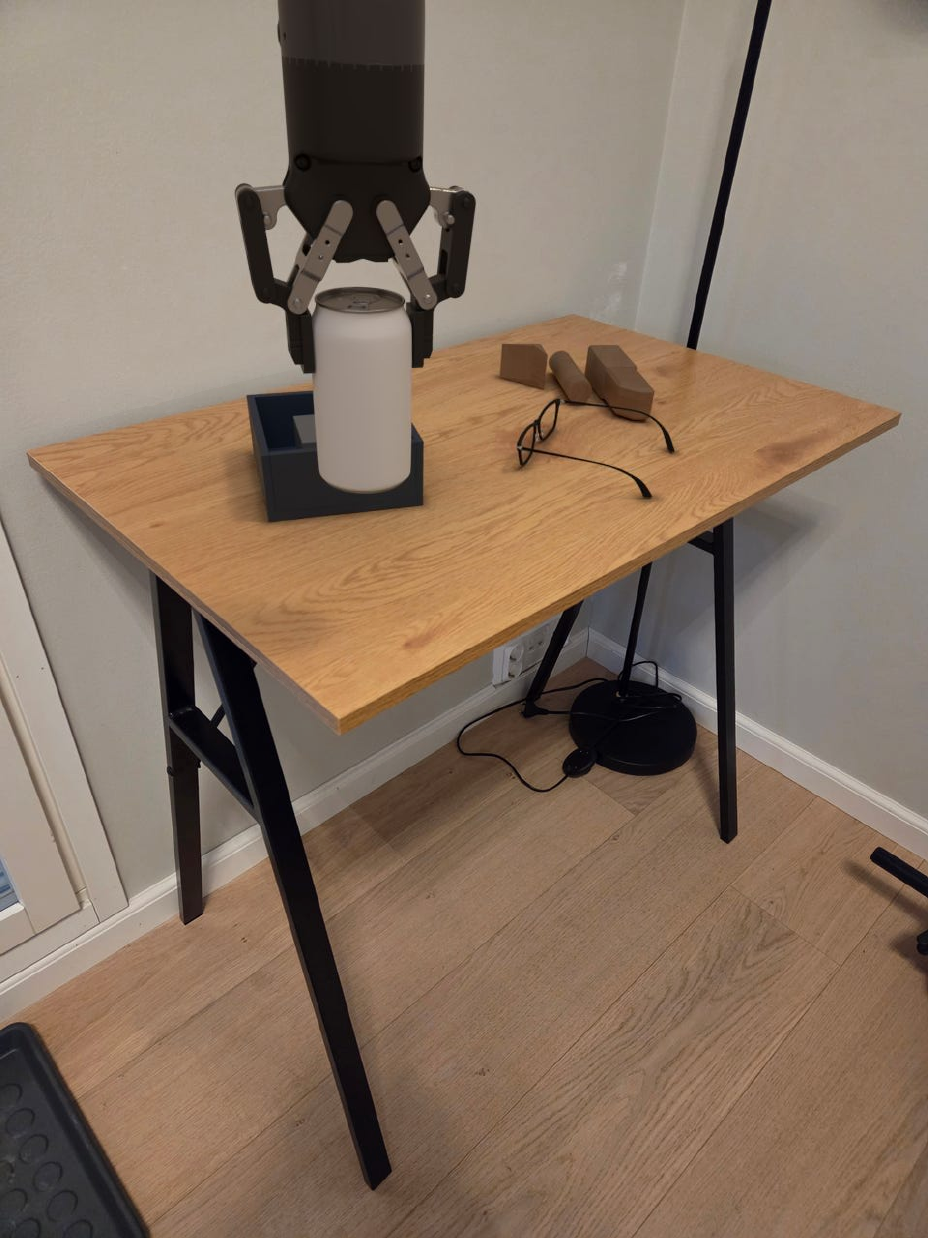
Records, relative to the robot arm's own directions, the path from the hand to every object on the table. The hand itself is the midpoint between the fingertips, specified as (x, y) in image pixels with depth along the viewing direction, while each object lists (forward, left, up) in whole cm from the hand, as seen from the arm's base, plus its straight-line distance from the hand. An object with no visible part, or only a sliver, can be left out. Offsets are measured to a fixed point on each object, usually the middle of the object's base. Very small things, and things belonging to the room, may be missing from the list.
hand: (362, 366), depth 51 cm
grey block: (+2, +27, -20) cm, 34 cm away
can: (0, 0, -8) cm, 8 cm away
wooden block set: (+37, +44, -22) cm, 61 cm away
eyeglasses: (+32, +25, -22) cm, 46 cm away
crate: (+2, +27, -21) cm, 34 cm away
